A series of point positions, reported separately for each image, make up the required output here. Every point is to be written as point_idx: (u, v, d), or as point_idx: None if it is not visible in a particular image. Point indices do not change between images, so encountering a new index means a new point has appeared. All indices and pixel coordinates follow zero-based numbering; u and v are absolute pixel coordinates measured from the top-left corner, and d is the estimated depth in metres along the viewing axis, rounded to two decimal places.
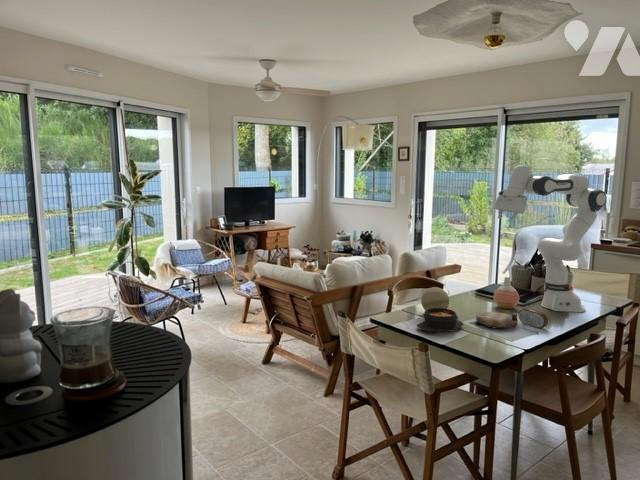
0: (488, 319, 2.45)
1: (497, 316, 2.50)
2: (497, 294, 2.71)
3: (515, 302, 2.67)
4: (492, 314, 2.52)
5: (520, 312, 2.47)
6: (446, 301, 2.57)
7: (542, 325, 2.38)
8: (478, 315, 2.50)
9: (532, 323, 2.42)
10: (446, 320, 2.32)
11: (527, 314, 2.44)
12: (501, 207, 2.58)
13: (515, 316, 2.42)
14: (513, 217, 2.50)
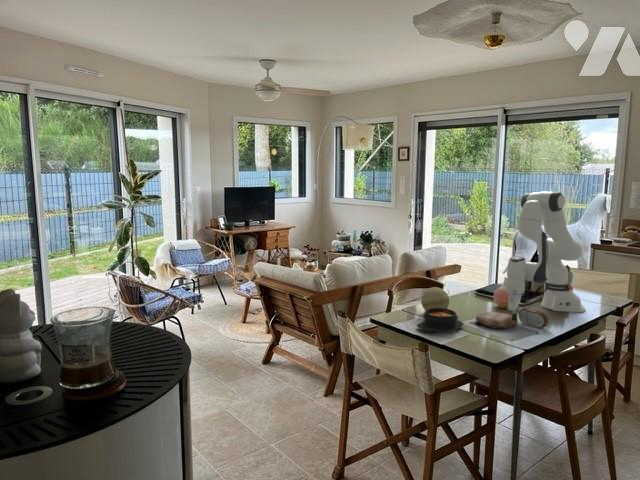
0: (488, 319, 2.45)
1: (497, 316, 2.50)
2: (497, 294, 2.71)
3: None
4: (492, 314, 2.52)
5: (520, 312, 2.47)
6: (446, 301, 2.57)
7: (542, 325, 2.38)
8: (478, 315, 2.50)
9: (532, 323, 2.42)
10: (446, 320, 2.32)
11: (527, 314, 2.44)
12: (511, 301, 2.49)
13: (515, 316, 2.42)
14: (513, 312, 2.45)
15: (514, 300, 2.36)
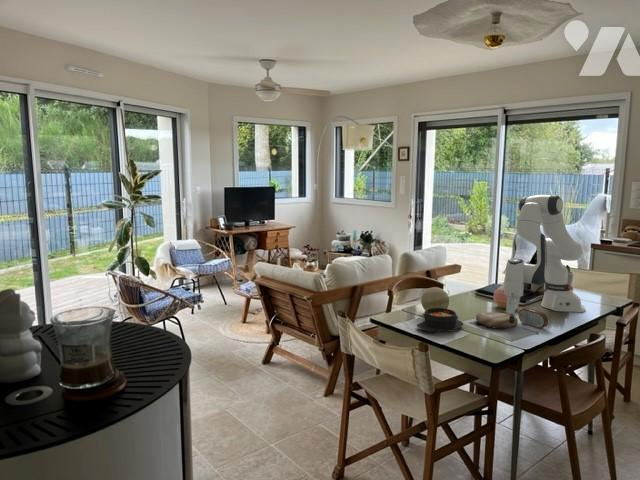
0: (485, 317, 2.48)
1: (501, 316, 2.49)
2: (497, 294, 2.71)
3: None
4: (498, 315, 2.51)
5: (520, 312, 2.47)
6: (446, 301, 2.57)
7: (542, 325, 2.38)
8: (481, 313, 2.54)
9: (532, 323, 2.42)
10: (446, 320, 2.32)
11: (527, 314, 2.44)
12: None
13: (511, 318, 2.39)
14: (511, 315, 2.41)
15: (512, 303, 2.32)
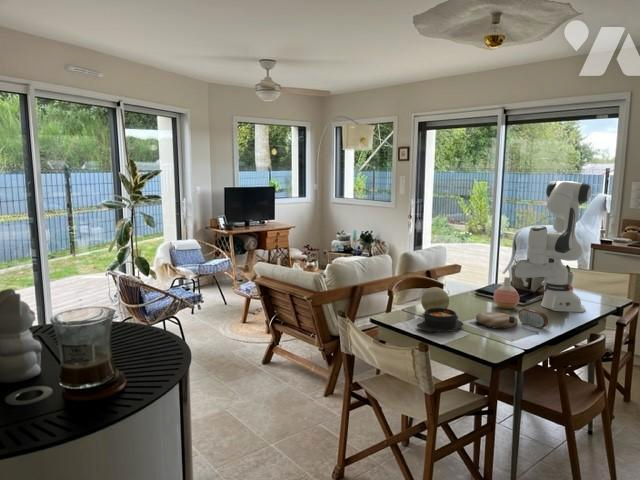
0: (485, 317, 2.48)
1: (501, 316, 2.49)
2: (497, 294, 2.71)
3: (515, 302, 2.67)
4: (498, 315, 2.51)
5: (520, 312, 2.47)
6: (446, 301, 2.57)
7: (542, 325, 2.38)
8: (481, 313, 2.54)
9: (532, 323, 2.42)
10: (446, 320, 2.32)
11: (527, 314, 2.44)
12: None
13: (511, 318, 2.39)
14: (524, 282, 2.40)
15: (518, 266, 2.37)
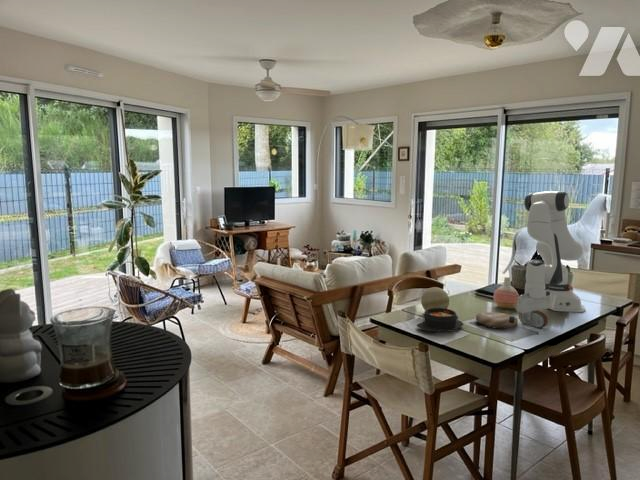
0: (485, 317, 2.48)
1: (501, 316, 2.49)
2: (497, 294, 2.71)
3: (515, 302, 2.67)
4: (498, 315, 2.51)
5: None
6: (446, 301, 2.57)
7: (542, 325, 2.38)
8: (481, 313, 2.54)
9: (532, 323, 2.42)
10: (446, 320, 2.32)
11: None
12: None
13: (511, 318, 2.39)
14: (528, 316, 2.42)
15: (521, 302, 2.37)
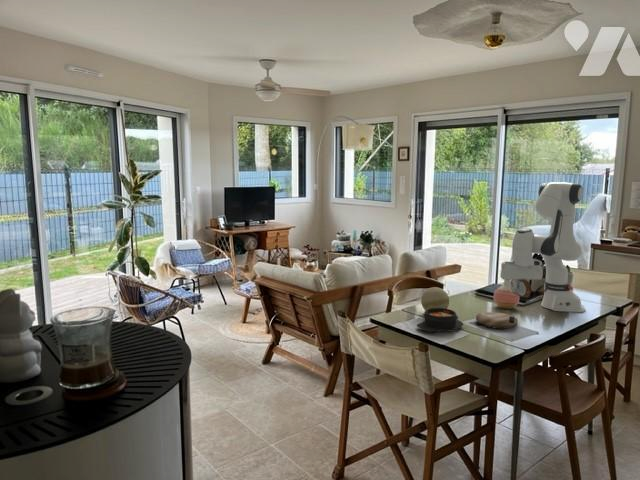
0: (485, 317, 2.48)
1: (501, 316, 2.49)
2: (497, 294, 2.71)
3: (515, 302, 2.67)
4: (498, 315, 2.51)
5: (512, 281, 2.47)
6: (446, 301, 2.57)
7: (524, 294, 2.36)
8: (481, 313, 2.54)
9: (518, 292, 2.41)
10: (446, 320, 2.32)
11: (516, 282, 2.43)
12: None
13: (511, 318, 2.39)
14: (515, 284, 2.41)
15: (503, 268, 2.39)
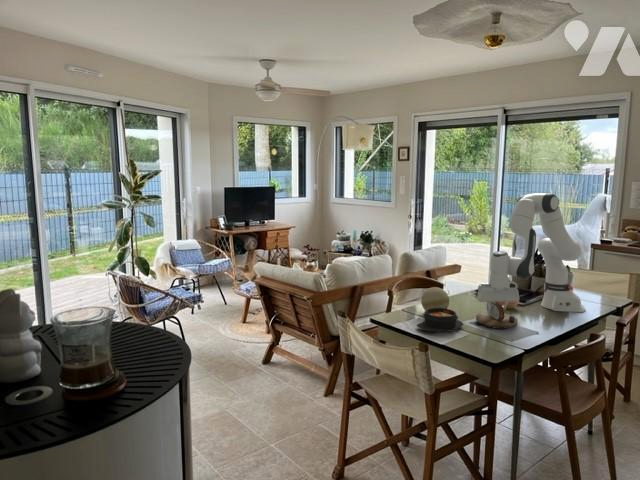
0: (485, 317, 2.48)
1: None
2: None
3: (515, 302, 2.67)
4: None
5: None
6: (446, 301, 2.57)
7: (498, 317, 2.40)
8: (481, 313, 2.54)
9: (493, 315, 2.46)
10: (446, 320, 2.32)
11: None
12: None
13: (511, 318, 2.39)
14: (489, 306, 2.46)
15: (480, 291, 2.43)
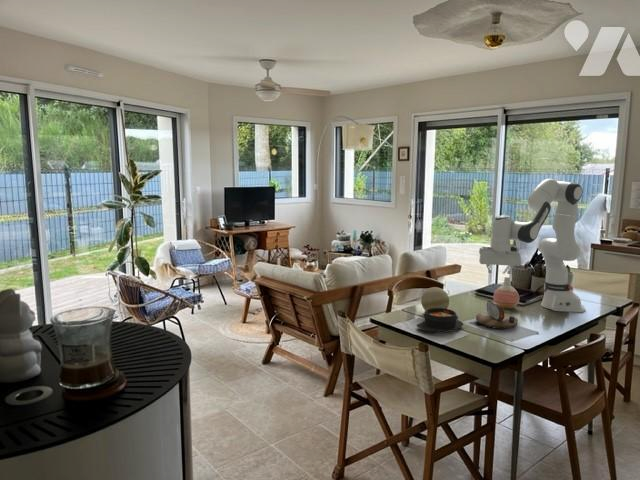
0: (485, 317, 2.48)
1: None
2: (497, 294, 2.71)
3: (515, 302, 2.67)
4: None
5: (487, 303, 2.52)
6: (446, 301, 2.57)
7: (498, 317, 2.40)
8: (481, 313, 2.54)
9: (493, 315, 2.46)
10: (446, 320, 2.32)
11: (490, 306, 2.48)
12: None
13: (511, 318, 2.39)
14: (488, 269, 2.51)
15: (481, 253, 2.49)
